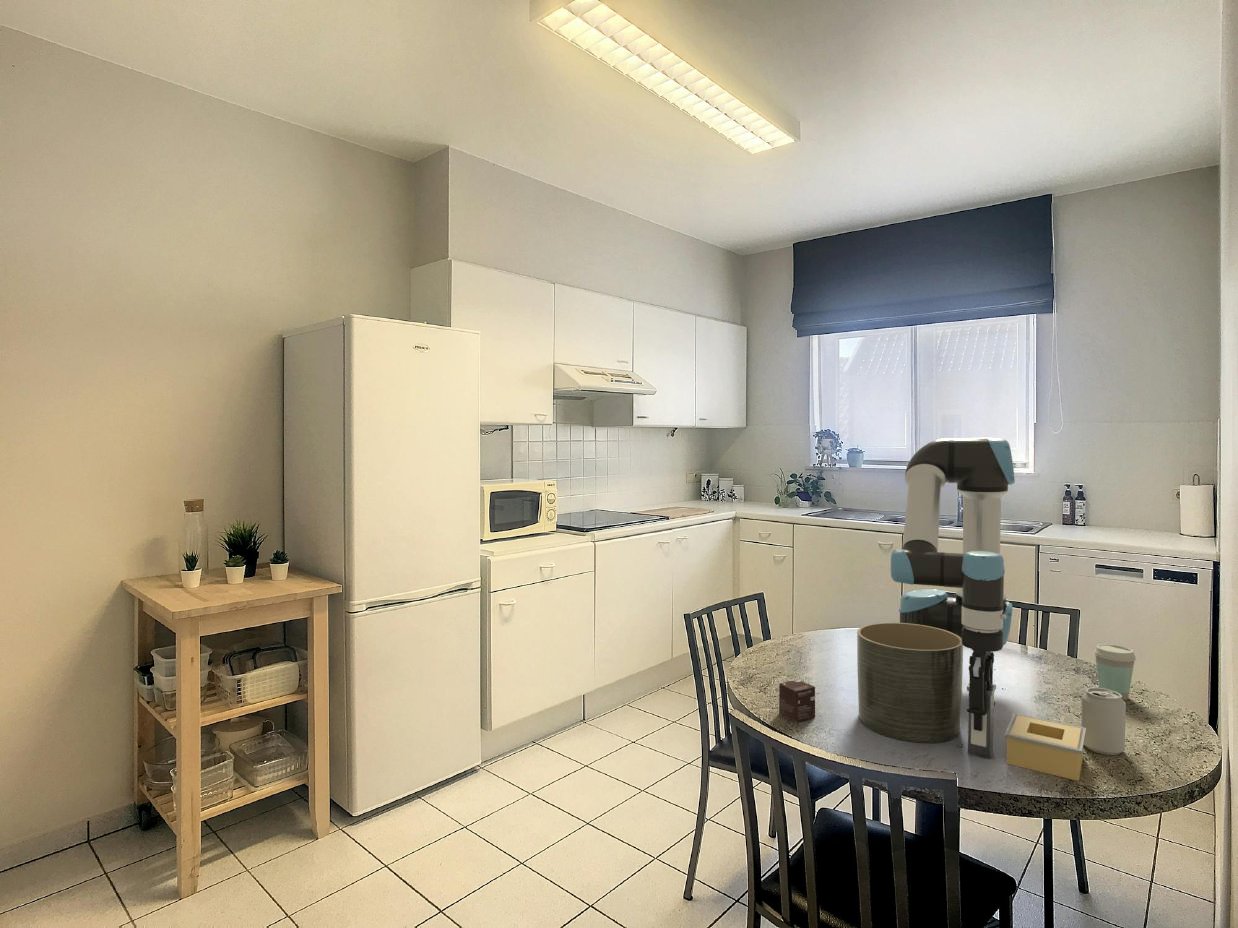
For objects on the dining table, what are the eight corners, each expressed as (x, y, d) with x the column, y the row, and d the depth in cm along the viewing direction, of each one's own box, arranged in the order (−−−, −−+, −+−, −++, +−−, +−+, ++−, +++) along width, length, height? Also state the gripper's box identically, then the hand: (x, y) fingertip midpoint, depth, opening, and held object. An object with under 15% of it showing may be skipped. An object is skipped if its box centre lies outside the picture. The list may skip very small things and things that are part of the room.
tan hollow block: (1004, 763, 137) (1004, 733, 137) (1013, 740, 148) (1013, 712, 147) (1081, 782, 130) (1081, 750, 129) (1085, 756, 140) (1086, 727, 140)
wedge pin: (966, 753, 142) (966, 686, 141) (970, 745, 145) (971, 680, 145) (991, 760, 139) (992, 691, 138) (995, 751, 142) (995, 684, 142)
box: (795, 722, 158) (795, 691, 157) (778, 713, 163) (778, 683, 163) (815, 717, 160) (816, 686, 160) (798, 708, 166) (798, 678, 165)
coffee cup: (1142, 703, 167) (1143, 654, 167) (1102, 701, 169) (1103, 652, 169) (1124, 690, 176) (1125, 644, 175) (1086, 688, 177) (1087, 642, 177)
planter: (947, 707, 166) (948, 624, 165) (975, 748, 144) (976, 653, 143) (851, 701, 170) (851, 620, 170) (863, 739, 149) (864, 647, 148)
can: (1072, 741, 147) (1073, 686, 146) (1105, 740, 148) (1106, 684, 147) (1099, 757, 139) (1100, 699, 139) (1134, 756, 140) (1135, 697, 140)
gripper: (995, 640, 132) (994, 761, 133) (1009, 621, 146) (1007, 730, 146) (953, 634, 136) (951, 750, 137) (970, 616, 150) (968, 722, 151)
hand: (980, 740), depth 142 cm, fingers closed on wedge pin, 4 cm apart
